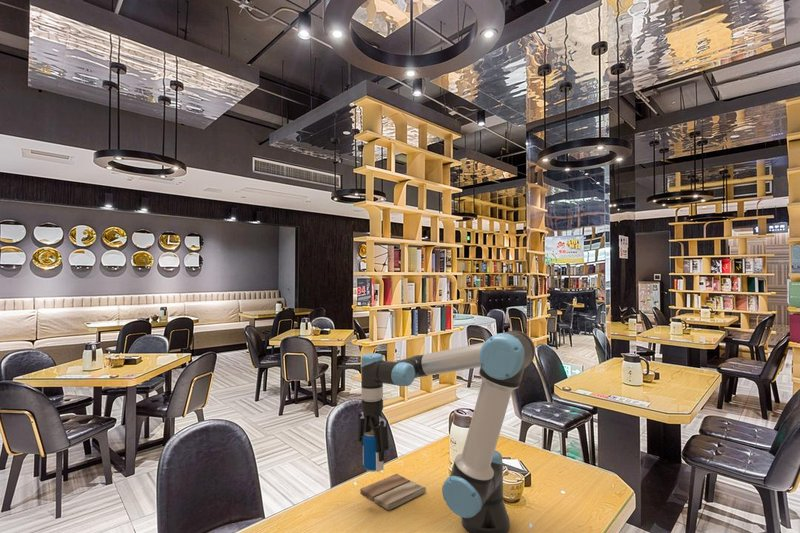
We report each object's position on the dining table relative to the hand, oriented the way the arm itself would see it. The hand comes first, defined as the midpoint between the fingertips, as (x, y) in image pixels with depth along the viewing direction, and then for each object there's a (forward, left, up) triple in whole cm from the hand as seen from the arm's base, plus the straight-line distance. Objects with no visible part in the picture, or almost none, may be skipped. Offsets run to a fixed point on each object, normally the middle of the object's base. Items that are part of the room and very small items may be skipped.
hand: (373, 466), depth 134 cm
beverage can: (0, 0, -1) cm, 1 cm away
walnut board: (+8, -12, -14) cm, 21 cm away
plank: (0, -12, -14) cm, 19 cm away
